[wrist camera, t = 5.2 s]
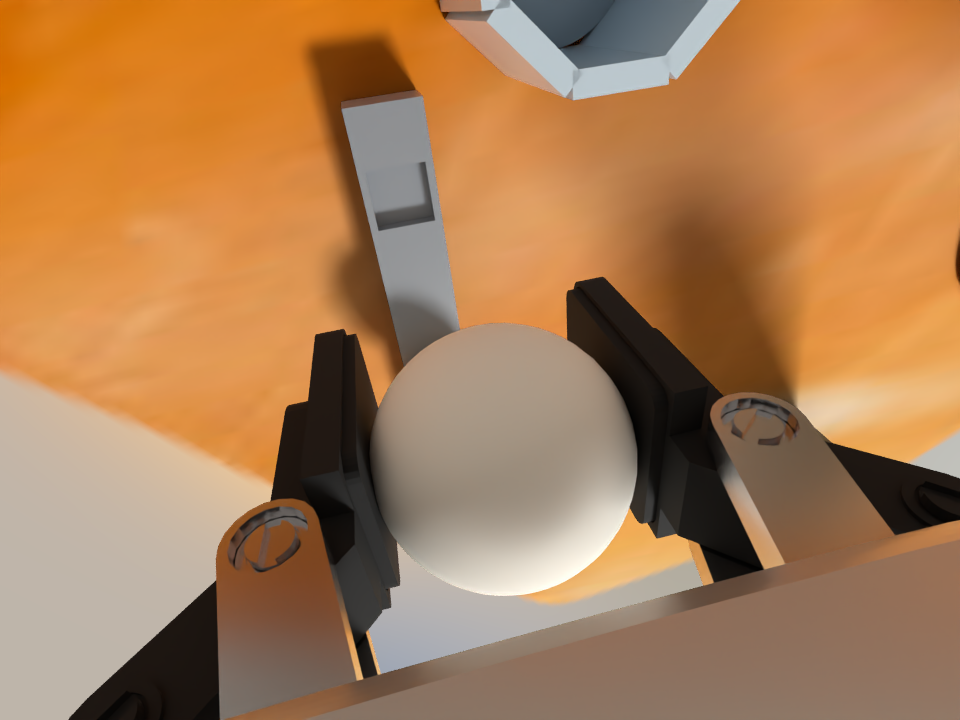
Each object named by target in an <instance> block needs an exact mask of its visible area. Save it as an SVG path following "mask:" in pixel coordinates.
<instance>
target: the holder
mask: <svg viewBox="0 0 960 720" xmlns="http://www.w3.org/2000/svg"><path fill="white" fill-rule="evenodd" d="M341 109H342V113H343V117H344V122H345V126H346V130H347V134H348V138H349V142H350V146H351V151H352V155H353V159H354V163H355V167H356V171H357V175H358V179H359V184H360V188H361V192H362V196H363V200H364V204H365V208H366V212H367V217H368V221H369V225H370V229H371V233H372V237H373V241H374V246H375V250H376V254H377V258H378V262H379V266H380V270H381V274H382V279H383V283H384V287H385V291H386V295H387V299H388V303H389V307H390V312H391V316H392V320H393V324H394V328H395V332H396V336H397V341H398V345H399V349H400V353H401V357H402V361H403V365H404V367H405V366H406V364H407V363H408V362H409V361H410V360H411V359H412V358H414V357H415V356H416V355H417V354H418V353H419V352H420V351H422V350H423V349H424V348H426V347H427V346H429V345H430V344H432V343H433V342H435V341H437V340H439V339H440V338H442V337H444V336H446V335H448V334H451V333H453V332H456V331H459V330H460V328H459V321H458V315H457V309H456V303H455V296H454V290H453V284H452V277H451V271H450V265H449V259H448V252H447V246H446V240H445V233H444V227H443V221H442V214H441V208H440V202H439V196H438V189H437V183H436V177H435V170H434V164H433V158H432V152H431V145H430V139H429V133H428V126H427V120H426V114H425V108H424V101H423V96H422V95H421V94H420V93H419V92H418V91H417V90H411V91H405V92H398V93H392V94H386V95H379V96H373V97H367V98H360V99H354V100H348V101H341Z"/></svg>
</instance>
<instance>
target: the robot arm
mask: <svg viewBox="0 0 960 720" xmlns="http://www.w3.org/2000/svg"><path fill="white" fill-rule="evenodd" d="M566 301H567V340H568V341H570V342H572V343H573V344H575V345H576V346H577V347H579V348H580V349H581V350H583V351H584V352H585V353H587V354H588V355H589V356H590V357H592V358H593V359H594V360H595V361H596V362H597V363H598V364H599V365H600V366H601V368H602V369H603V370H604V371H605V372H606V373H607V374H608V376H609V377H610V378H611V379H612V381H613V383H614V384H615V386H616V387H617V389H618V391H619V392H620V394H621V396H622V398H623V399H624V402H625V404H626V407H627V409H628V412H629V415H630V417H631V420H632V423H633V427H634V433H635V438H636V444H637V477H636V483H635V488H634V493H633V498H632V501H631V504H630V509H631V511H632V513H633V514H634V516H635V518H636V519H637V521H638V522H639V523H641V524H643V523H648V525H649V526H650V528H651V530H652V531H653V533H654V535H655V537H656V538H661V537H665V536H669V535H673V534H677V535H678V536H680V537H683V538H686V539H688V541H689V547H690V550H691V553H692V556H693V559H694V561H695V564H696V567H697V570H698V572H699V575H700V578H701V581H702V584H703V586H701V587H697V588H693V589H690V590H686V591H682V592H679V593H675V594H671V595H667V596H664V597H660V598H656V599H653V600H650V601H646V602H642V603H638V604H634V605H631V606H627V607H624V608H620V609H616V610H613V611H609V612H605V613H601V614H598V615H594V616H590V617H587V618H583V619H579V620H576V621H572V622H568V623H564V624H561V625H557V626H554V627H550V628H546V629H542V630H539V631H535V632H532V633H528V634H524V635H521V636H517V637H513V638H510V639H506V640H502V641H499V642H495V643H492V644H488V645H484V646H481V647H477V648H473V649H470V650H466V651H463V652H459V653H456V654H452V655H448V656H445V657H441V658H438V659H434V660H430V661H427V662H423V663H420V664H416V665H412V666H409V667H405V668H402V669H398V670H394V671H391V672H387V673H383V674H381V673H380V669H379V665H378V662H377V658H376V655H375V651H374V648H373V644H372V640H371V637H370V634H369V631H368V629H369V628H370V627H371V625H372V624H373V623H374V622H375V621H376V619H377V618H378V616H379V615H380V614H381V613H382V610H383V609H387V608H391V598H390V588H392V587H396V586H399V585H400V574H399V564H398V551H397V541H396V540H395V538H394V537H393V535H392V534H391V532H390V531H389V529H388V527H387V525H386V523H385V522H384V520H383V517H382V515H381V513H380V510H379V507H378V503H377V500H376V496H375V490H374V485H373V480H372V475H371V468H370V457H369V452H370V440H371V432H372V428H373V425H374V421H375V418H376V414H377V411H378V406H377V402H376V399H375V396H374V392H373V389H372V385H371V382H370V379H369V375H368V372H367V368H366V365H365V361H364V358H363V355H362V351H361V348H360V344H359V341H358V338H357V335H356V334H352V335H346V332H345V330H344V329H341V330H336V331H331V332H326V333H321V334H316V335H315V342H314V351H313V360H312V370H311V379H310V388H309V397H308V401H306V402H302V403H297V404H292V405H289V406H287V408H286V411H285V416H284V422H283V428H282V434H281V440H280V446H279V452H278V458H277V465H276V471H275V477H274V483H273V489H272V495H271V501H270V502H266V503H263V504H261V505H259V506H257V507H255V508H253V509H252V510H250V511H248V512H247V513H245V514H244V515H243V516H241V517H240V518H239V519H237V520H236V521H235V522H234V523H233V525H232V526H231V527H230V528H229V529H228V530H227V532H226V533H225V534H224V536H223V538H222V540H221V542H220V544H219V546H218V550H217V557H216V581H215V582H214V583H213V584H212V585H211V586H210V587H208V588H207V589H206V590H205V591H204V592H203V593H202V594H201V595H200V596H198V597H197V599H195V600H194V601H193V602H192V603H191V604H190V605H189V606H188V607H187V608H185V609H184V610H183V611H182V612H181V613H180V614H179V615H178V616H177V617H176V618H175V619H174V620H172V621H171V622H170V623H169V624H168V625H167V626H166V627H165V628H164V629H163V630H162V631H160V632H159V634H157V635H156V636H155V637H154V638H153V639H152V640H151V641H150V642H148V643H147V644H146V645H145V646H144V647H143V648H142V649H141V650H140V651H139V652H138V653H137V654H136V655H134V656H133V657H132V658H131V659H130V660H129V661H128V662H127V663H126V664H124V665H123V667H121V668H120V669H119V670H118V671H117V672H116V673H115V674H114V675H113V676H111V677H110V678H109V679H108V680H107V681H106V682H105V683H104V684H103V685H102V686H101V687H99V688H98V689H97V690H96V691H95V692H94V693H93V694H92V695H91V696H90V697H89V698H87V700H86V701H85V702H84V703H83V704H82V705H81V706H80V707H79V708H78V709H77V710H76V712H75V713H74V714H73V715H72V716H71V717H70V718H69V720H960V479H959V478H957V477H954V476H950V475H948V474H945V473H941V472H937V471H933V470H930V469H926V468H923V467H919V466H915V465H911V464H908V463H904V462H900V461H897V460H893V459H889V458H885V457H882V456H878V455H874V454H870V453H867V452H863V451H859V450H856V449H852V448H848V447H844V446H841V445H837V444H833V443H830V442H826V441H824V440H823V439H822V437H821V436H820V435H819V433H818V432H817V431H816V429H815V428H814V427H813V425H812V424H811V423H810V421H809V420H808V419H807V417H806V416H805V415H804V414H803V413H802V412H801V411H800V410H799V409H798V408H796V407H795V406H793V405H791V404H790V403H788V402H786V401H784V400H782V399H779V398H776V397H774V396H771V395H766V394H761V393H755V392H740V393H735V394H729V395H727V396H725V397H724V396H723V395H722V394H721V393H720V392H719V391H718V390H717V389H716V388H715V387H714V386H713V385H712V384H711V383H710V382H709V381H708V380H707V379H706V378H705V377H704V376H703V375H702V374H701V373H700V372H699V371H698V370H697V369H696V367H695V366H694V365H693V364H692V363H691V362H690V361H689V360H688V359H687V358H686V357H685V356H684V355H683V354H682V353H681V352H680V351H679V350H678V349H677V348H676V347H675V346H674V345H673V344H672V343H671V342H670V341H669V340H668V339H667V338H666V337H665V336H664V335H663V334H662V333H661V332H660V331H659V330H658V329H656V328H652V327H651V326H650V325H649V323H648V322H647V321H646V320H645V319H644V318H643V317H642V316H641V315H640V314H639V313H638V312H637V311H636V310H635V309H634V308H633V307H632V306H631V305H630V304H629V303H628V302H627V301H626V300H625V299H624V298H623V297H622V296H621V294H620V293H619V292H618V291H617V290H616V289H615V288H614V287H613V286H612V285H611V284H610V283H609V282H608V281H607V280H606V279H605V278H604V277H599V278H594V279H589V280H584V281H579V282H576V283H575V286H574V289H573V290H568V292H567V297H566Z"/></svg>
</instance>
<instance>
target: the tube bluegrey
mask: <svg viewBox="0 0 960 720" xmlns="http://www.w3.org/2000/svg"><path fill="white" fill-rule="evenodd" d="M439 1H440V8H441V12H449V13H448V15H447V17H446V18H445V20H446V21H447V22H448V23H449V24H450V25H451V26H452V27H453V28H454V29H456V30H457V31H458V32H459V33H460V34H461V35H462V36H463V37H464V38H465V39H466V40H467V41H469V42H470V43H471V44H472V45H473V46H474V47H475V48H476V49H477V50H478V51H479V52H480V53H482V54H483V55H484V56H485V57H486V58H487V59H488V60H489V61H490V62H491V63H492V64H493V65H494V66H496V67H497V68H498V69H499V70H500V71H501V72H502V73H503V74H504V75H505V76H508V77H511V78H513V79H516V80H519V81H521V82H524V83H527V84H529V85H532V86H535V87H537V88H540V89H543V90H546V91H548V92H551V93H554V94H556V95H559V96H562V97H564V98H565V97H566V98H568V99H571V100H578V99H584V98H590V97H596V96H602V95H608V94H614V93H620V92H626V91H632V90H638V89H644V88H650V87H656V86H662V85H668V84H669V78H672V79H677V78H678V77H679V76H680V74H681V73H682V72H683V71H684V69H685V68H686V67H687V66H688V64H689V63H690V62H691V61H692V59H693V58H694V57H695V56H696V54H697V53H698V52H699V51H700V50H701V48H702V47H703V46H704V45H705V43H706V42H707V41H708V40H709V38H710V37H711V36H712V35H713V33H714V32H715V31H716V30H717V28H718V27H719V26H720V25H721V23H722V22H723V21H724V20H725V19H726V17H727V16H728V15H729V14H730V12H731V11H732V10H733V9H734V7H735V6H736V5H737V4H738V2H739V1H740V0H439ZM584 35H585V36H584ZM583 36H584V38H583V39H582V41H581V42H580V43H579V45H572V46H567V45H569V44H571V43H573V42H575V41H577V40H578V39H580V38H582V37H583ZM564 46H566V47H564Z"/></svg>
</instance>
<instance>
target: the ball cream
mask: <svg viewBox="0 0 960 720" xmlns="http://www.w3.org/2000/svg"><path fill="white" fill-rule="evenodd" d="M369 457H370V468H371V475H372V480H373V485H374V490H375V496H376V500H377V503H378V507H379V510H380V513H381V515H382V517H383V520H384V522H385V523H386V525H387V527H388V529H389V531H390V532H391V534H392V535H393V537H394V538H395V540H396V541H397V542H398V544H399V545H400V546H401V547H402V548H403V550H404V551H405V552H406V553H407V554H408V555H409V556H410V557H411V558H412V559H413V560H414V561H415V562H417V563H418V564H419V565H420V566H421V567H423V568H424V569H425V570H427V571H428V572H429V573H431V574H432V575H434V576H436V577H438V578H439V579H441V580H443V581H445V582H447V583H449V584H451V585H453V586H456V587H458V588H461V589H465V590H468V591H472V592H476V593H480V594H486V595H500V596H508V595H522V594H529V593H534V592H538V591H541V590H545V589H548V588H550V587H553V586H556V585H558V584H560V583H562V582H564V581H566V580H568V579H570V578H571V577H573V576H575V575H576V574H578V573H579V572H580V571H582V570H583V569H584V568H586V567H587V566H588V565H589V564H591V563H592V562H593V561H594V560H595V559H596V558H597V557H598V556H599V555H600V554H601V553H602V552H603V551H604V550H605V549H606V547H607V546H608V545H609V543H610V542H611V541H612V539H613V538H614V536H615V535H616V533H617V532H618V530H619V529H620V527H621V525H622V523H623V521H624V519H625V516H626V514H627V512H628V510H629V507H630V504H631V501H632V498H633V493H634V488H635V483H636V477H637V444H636V438H635V433H634V427H633V423H632V420H631V417H630V415H629V412H628V409H627V407H626V404H625V402H624V399H623V398H622V396H621V394H620V392H619V391H618V389H617V387H616V386H615V384H614V383H613V381H612V379H611V378H610V377H609V376H608V374H607V373H606V372H605V371H604V370H603V369H602V368H601V366H600V365H599V364H598V363H597V362H596V361H595V360H594V359H593V358H592V357H590V356H589V355H588V354H587V353H585V352H584V351H583V350H581V349H580V348H579V347H577V346H576V345H575V344H573V343H572V342H570V341H568V340H566V339H564V338H562V337H560V336H558V335H556V334H554V333H551V332H549V331H546V330H543V329H540V328H536V327H532V326H527V325H521V324H511V323H490V324H483V325H476V326H472V327H469V328H465V329H461V330H459V331H456V332H453V333H451V334H448V335H446V336H444V337H442V338H440V339H439V340H437V341H435V342H433V343H432V344H430V345H429V346H427V347H426V348H424V349H423V350H422V351H420V352H419V353H418V354H417V355H416V356H415V357H414V358H412V359H411V360H410V361H409V362H408V363H407V364H406V366H405V367H404V368H403V369H402V370H401V371H400V372H399V373H398V375H397V376H396V377H395V379H394V380H393V382H392V383H391V385H390V386H389V388H388V390H387V392H386V394H385V396H384V398H383V400H382V402H381V404H380V406H379V408H378V411H377V414H376V418H375V421H374V425H373V428H372V432H371V440H370V452H369Z"/></svg>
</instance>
